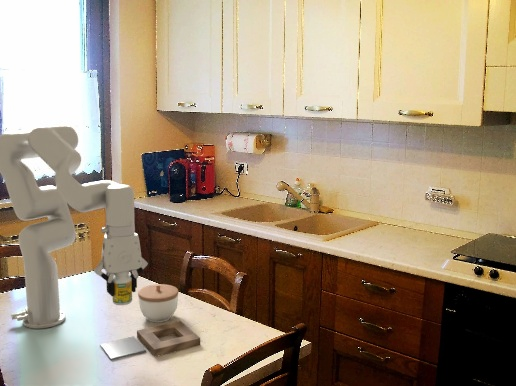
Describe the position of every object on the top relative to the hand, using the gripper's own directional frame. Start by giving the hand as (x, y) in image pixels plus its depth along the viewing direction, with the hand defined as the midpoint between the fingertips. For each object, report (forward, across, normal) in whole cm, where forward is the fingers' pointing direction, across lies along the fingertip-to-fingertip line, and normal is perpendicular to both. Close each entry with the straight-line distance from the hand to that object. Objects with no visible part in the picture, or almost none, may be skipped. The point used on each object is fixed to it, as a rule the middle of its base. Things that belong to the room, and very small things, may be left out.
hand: (122, 292), depth 158 cm
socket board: (+17, +13, -3) cm, 21 cm away
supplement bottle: (+3, 0, 0) cm, 3 cm away
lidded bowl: (+17, +17, +14) cm, 28 cm away
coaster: (+17, 0, 0) cm, 17 cm away
